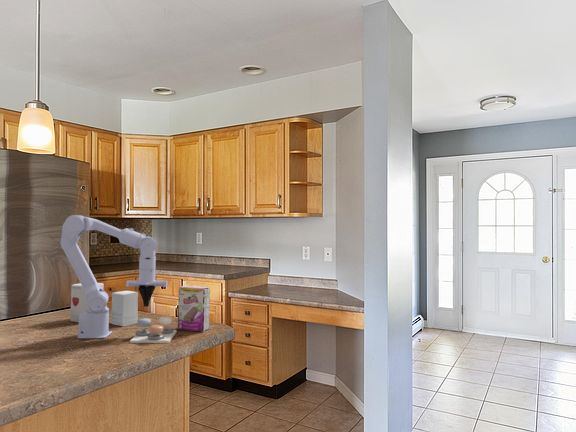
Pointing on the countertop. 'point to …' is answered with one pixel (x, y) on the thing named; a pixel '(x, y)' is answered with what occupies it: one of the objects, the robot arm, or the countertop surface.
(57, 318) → the countertop surface
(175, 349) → the countertop surface
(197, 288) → the candy bar box
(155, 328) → the terracotta button
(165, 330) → the panel
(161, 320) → the cream button
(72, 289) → the supplement box
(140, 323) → the slate button
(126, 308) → the supplement box
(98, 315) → the robot arm
